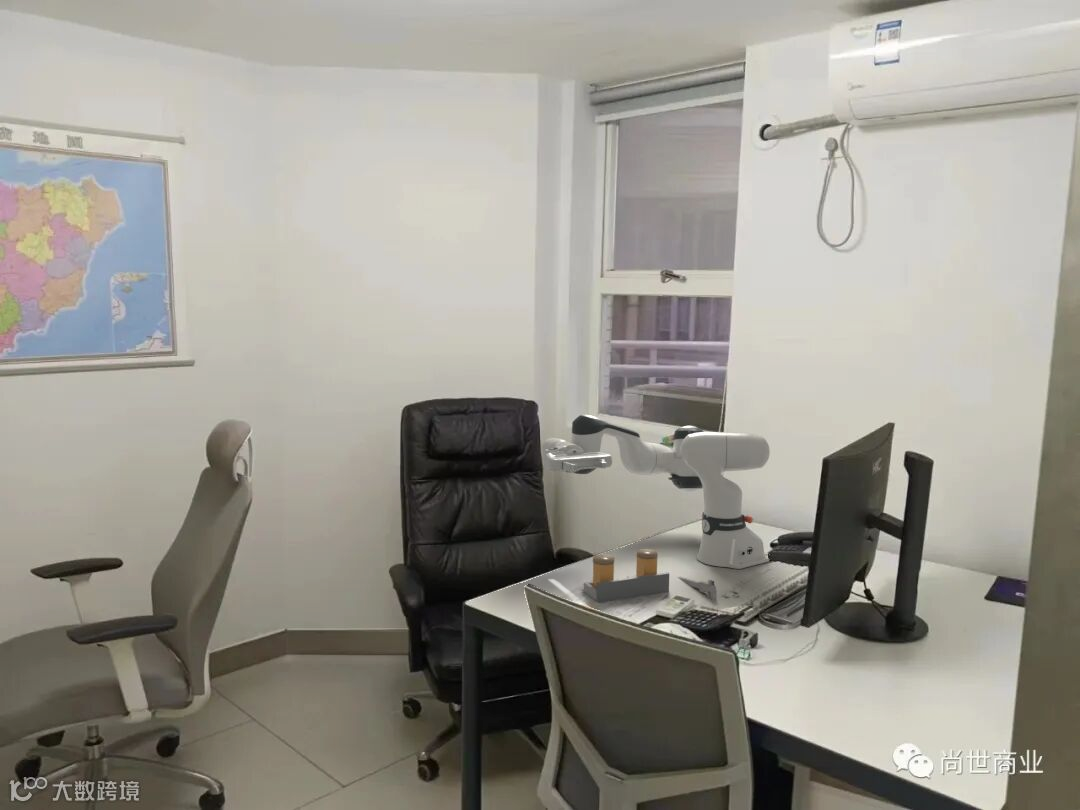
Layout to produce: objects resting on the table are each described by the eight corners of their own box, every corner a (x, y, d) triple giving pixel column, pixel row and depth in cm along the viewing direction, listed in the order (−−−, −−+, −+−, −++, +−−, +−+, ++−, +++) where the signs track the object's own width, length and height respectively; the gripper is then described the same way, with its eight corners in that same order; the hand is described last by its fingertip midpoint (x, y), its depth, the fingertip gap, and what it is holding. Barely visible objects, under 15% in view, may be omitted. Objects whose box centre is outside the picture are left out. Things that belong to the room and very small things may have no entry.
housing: (649, 583, 223) (650, 562, 222) (668, 595, 214) (669, 573, 213) (581, 593, 215) (581, 571, 214) (597, 607, 206) (598, 583, 205)
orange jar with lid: (650, 582, 220) (650, 547, 219) (660, 589, 215) (661, 554, 214) (632, 585, 218) (632, 550, 217) (642, 592, 213) (643, 556, 212)
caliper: (716, 605, 208) (717, 582, 207) (712, 606, 207) (713, 582, 207) (677, 579, 227) (678, 558, 226) (674, 580, 227) (674, 558, 226)
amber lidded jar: (607, 588, 215) (608, 553, 214) (617, 596, 210) (618, 559, 209) (588, 591, 213) (589, 555, 212) (598, 599, 208) (598, 562, 207)
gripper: (600, 465, 250) (621, 474, 237) (539, 470, 242) (557, 480, 229) (600, 445, 249) (621, 453, 236) (539, 449, 241) (558, 458, 229)
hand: (589, 466), depth 233 cm, fingers open, 8 cm apart
